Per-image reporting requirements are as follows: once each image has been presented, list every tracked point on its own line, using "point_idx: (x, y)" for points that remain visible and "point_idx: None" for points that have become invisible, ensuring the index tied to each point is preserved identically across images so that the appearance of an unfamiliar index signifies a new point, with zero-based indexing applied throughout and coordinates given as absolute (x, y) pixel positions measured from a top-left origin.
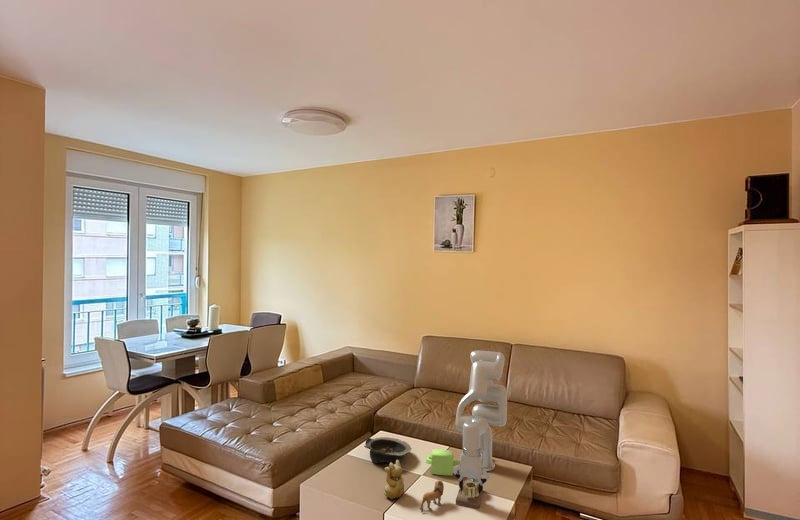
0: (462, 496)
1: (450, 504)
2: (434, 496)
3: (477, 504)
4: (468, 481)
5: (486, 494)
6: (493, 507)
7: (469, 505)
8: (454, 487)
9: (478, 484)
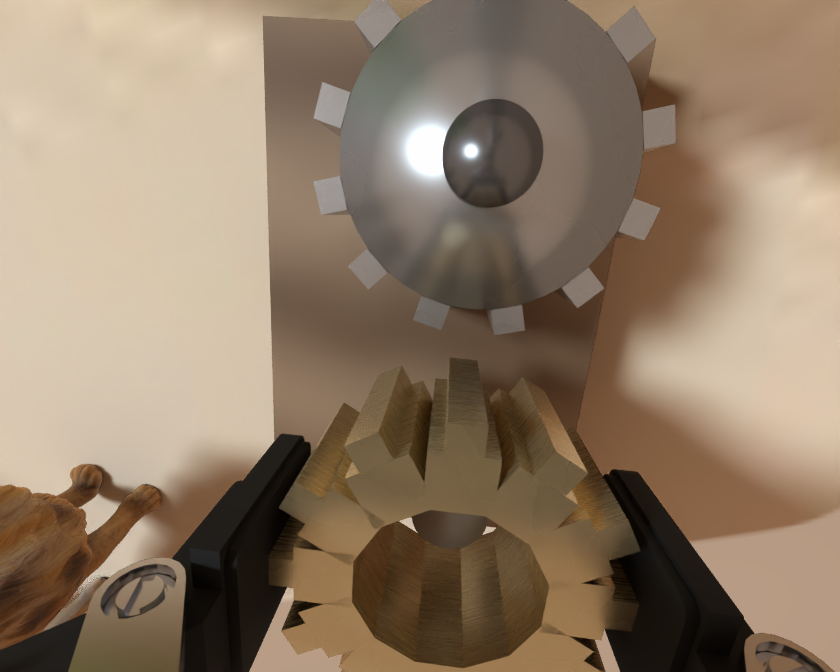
0: None
1: None
2: None
3: None
4: (383, 471)
5: (667, 169)
6: (716, 443)
7: None
8: (201, 101)
9: (628, 554)
